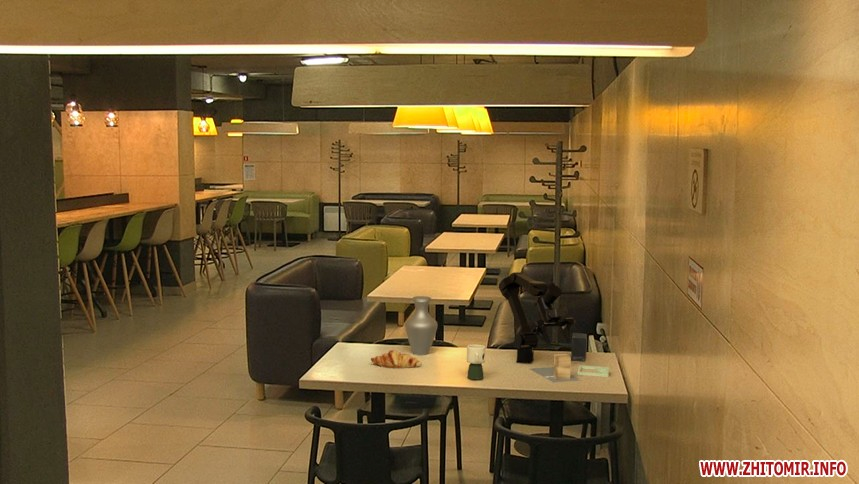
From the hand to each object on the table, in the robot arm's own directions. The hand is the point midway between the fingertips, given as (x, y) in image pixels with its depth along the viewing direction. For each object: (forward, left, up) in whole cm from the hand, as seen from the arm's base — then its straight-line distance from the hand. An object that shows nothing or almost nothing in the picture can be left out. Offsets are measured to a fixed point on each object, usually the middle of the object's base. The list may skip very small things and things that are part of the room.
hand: (559, 343), depth 335 cm
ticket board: (-1, -3, -13) cm, 14 cm away
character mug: (-31, -14, -13) cm, 37 cm away
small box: (+6, +35, -14) cm, 38 cm away
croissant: (-66, -4, -14) cm, 68 cm away
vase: (-62, +22, -13) cm, 67 cm away
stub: (+2, -8, -12) cm, 15 cm away
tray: (+14, +6, -13) cm, 20 cm away
